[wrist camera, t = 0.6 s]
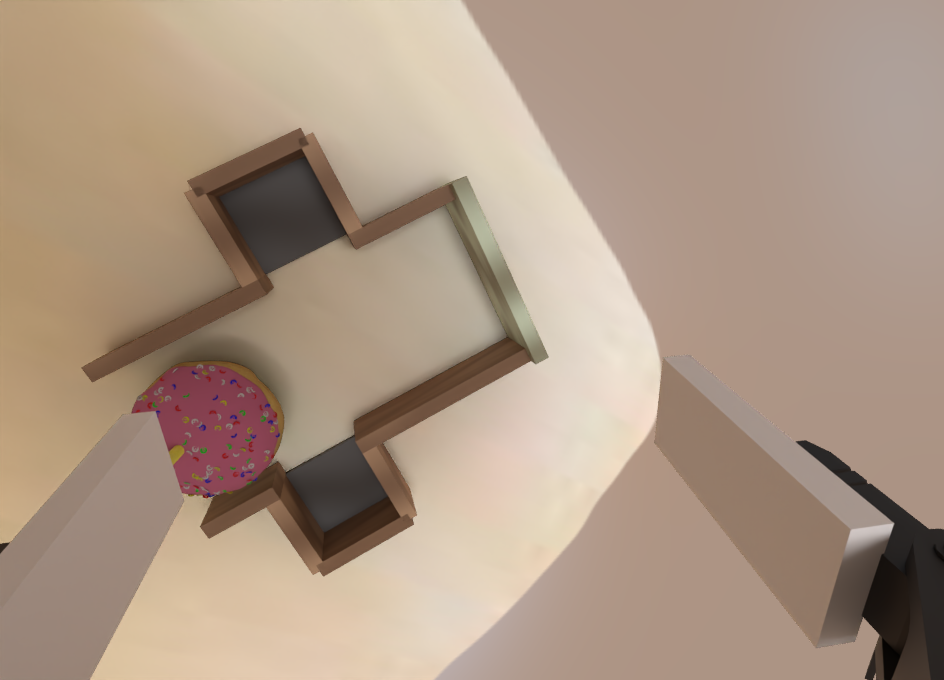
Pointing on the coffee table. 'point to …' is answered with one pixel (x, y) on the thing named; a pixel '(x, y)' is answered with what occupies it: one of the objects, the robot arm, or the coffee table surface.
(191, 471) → the cupcake
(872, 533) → the robot arm
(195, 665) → the coffee table surface
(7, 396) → the coffee table surface
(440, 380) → the trap lane
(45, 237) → the coffee table surface
